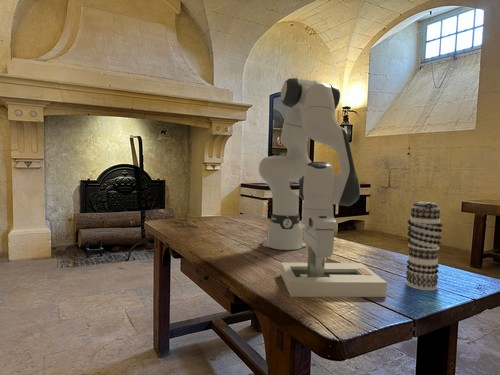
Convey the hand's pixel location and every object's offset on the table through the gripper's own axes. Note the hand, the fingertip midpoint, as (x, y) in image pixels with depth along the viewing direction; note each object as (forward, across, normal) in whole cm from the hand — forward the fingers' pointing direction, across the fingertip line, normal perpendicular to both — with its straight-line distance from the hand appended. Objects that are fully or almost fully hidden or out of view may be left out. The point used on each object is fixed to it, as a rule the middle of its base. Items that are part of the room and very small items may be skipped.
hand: (315, 264), depth 99 cm
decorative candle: (+6, 0, +32) cm, 33 cm away
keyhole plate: (+6, 0, +4) cm, 7 cm away
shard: (+7, -19, +10) cm, 22 cm away
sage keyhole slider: (+6, 0, 0) cm, 6 cm away
